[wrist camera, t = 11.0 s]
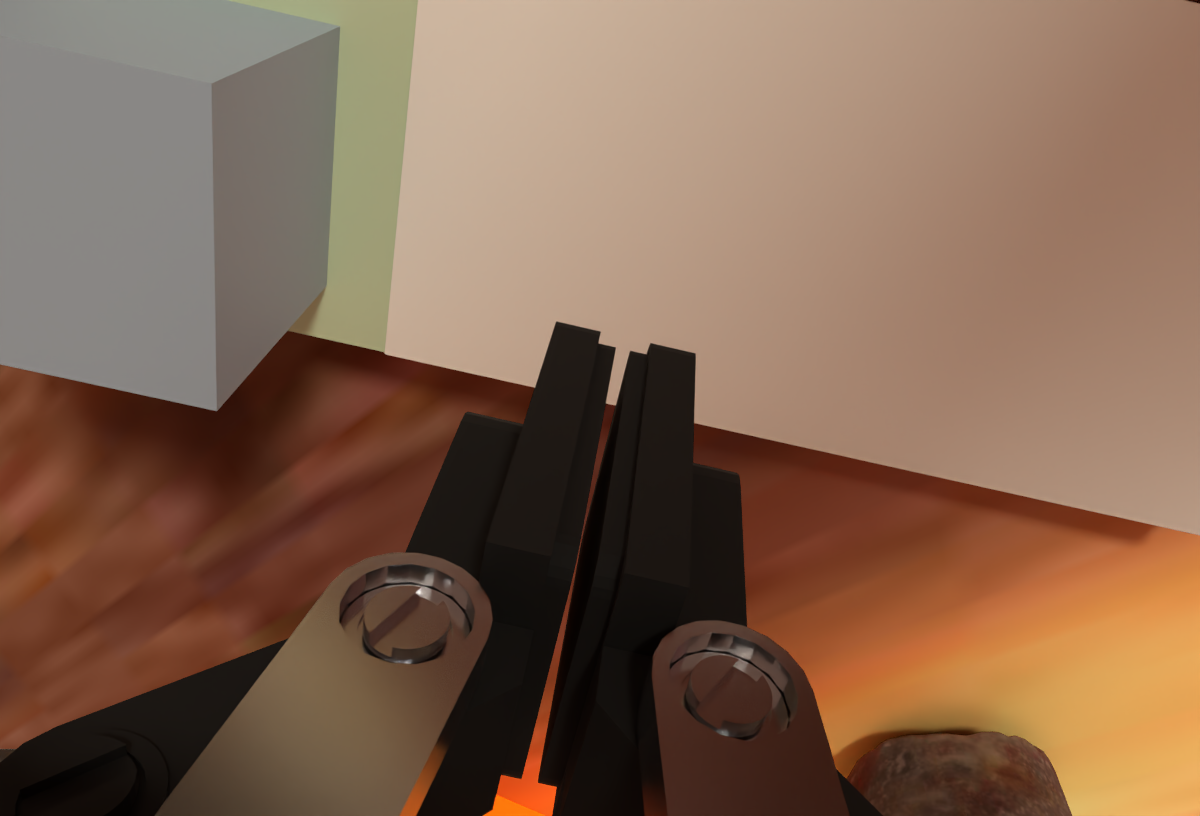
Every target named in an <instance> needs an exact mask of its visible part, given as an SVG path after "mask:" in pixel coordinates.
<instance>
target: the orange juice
mask: <svg viewBox="0 0 1200 816" xmlns="http://www.w3.org/2000/svg"><path fill="white" fill-rule="evenodd" d="M483 816H546V815H543V814H541V813H539V812H536V811H534V810H531V809H529V808H527V807H524V806H522V805H520V804H517V803H515V802H512V801H510V800H508V799H505V798H503V797H501V796H498V795H496V798H495V802H494V806H493V810H492V811H490V812H488V813H487V814H485V815H483Z"/></svg>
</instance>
